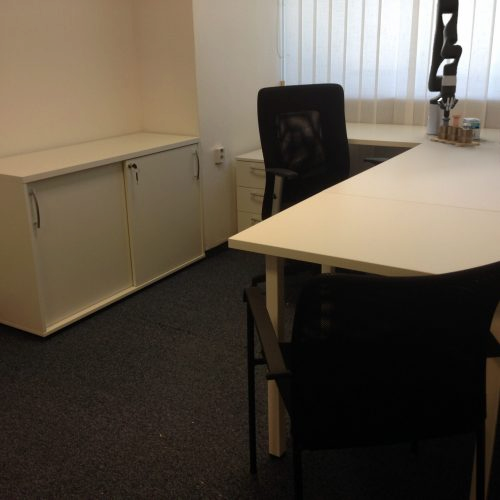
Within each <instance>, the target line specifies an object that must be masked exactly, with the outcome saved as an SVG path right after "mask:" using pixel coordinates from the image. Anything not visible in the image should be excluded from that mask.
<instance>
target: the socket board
mask: <svg viewBox="0 0 500 500" xmlns="http://www.w3.org/2000/svg"><path fill="white" fill-rule="evenodd" d="M472 137H473V129H469V130H463V127H462V126H459V128H453V125H449V126H443V125H441V126H439V130H438V135H437V137H433V138H430V139H429V140H430V141H431V140H432V142H437V143H441V142H442V144H445V143H446V145H450V144H451V145H452V146H457V147H461V148H463V147H471V146H480V145H481V143H480V142H477V141H473V140H472Z"/></svg>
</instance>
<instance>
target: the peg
mask: <svg viewBox="0 0 500 500" xmlns="http://www.w3.org/2000/svg"><path fill="white" fill-rule="evenodd" d="M451 117H452V116H451ZM451 117H450V116H449V117H448V118H445V117H442V120H443V126H449V124H450V121H451Z"/></svg>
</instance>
